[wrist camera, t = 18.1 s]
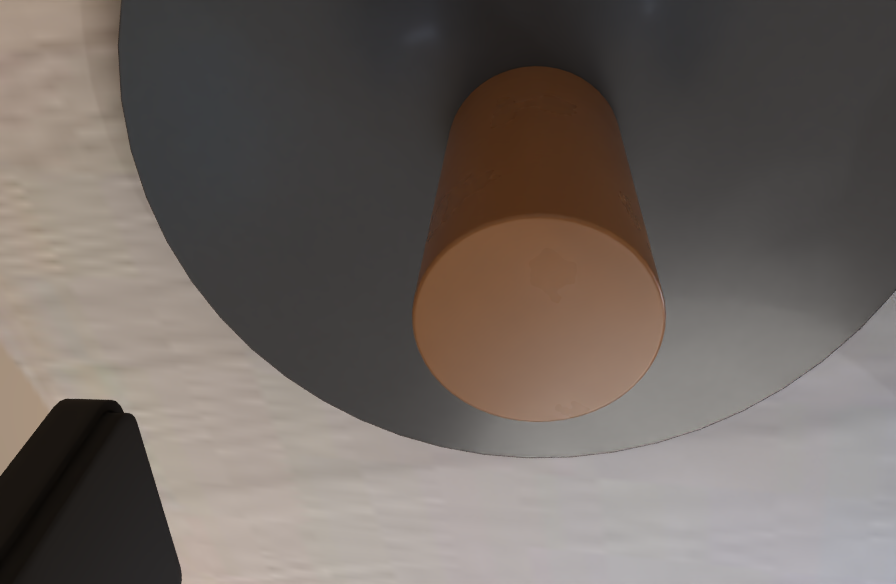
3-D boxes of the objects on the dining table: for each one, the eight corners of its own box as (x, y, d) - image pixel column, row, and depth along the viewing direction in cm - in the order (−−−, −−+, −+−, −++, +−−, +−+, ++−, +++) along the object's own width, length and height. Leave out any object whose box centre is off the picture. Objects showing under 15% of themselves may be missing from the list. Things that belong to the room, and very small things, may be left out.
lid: (219, 422, 23) (104, 665, 17) (31, -353, 14) (-384, -460, 8) (854, 440, 22) (989, 715, 15) (1121, -415, 12) (1744, -615, 6)
